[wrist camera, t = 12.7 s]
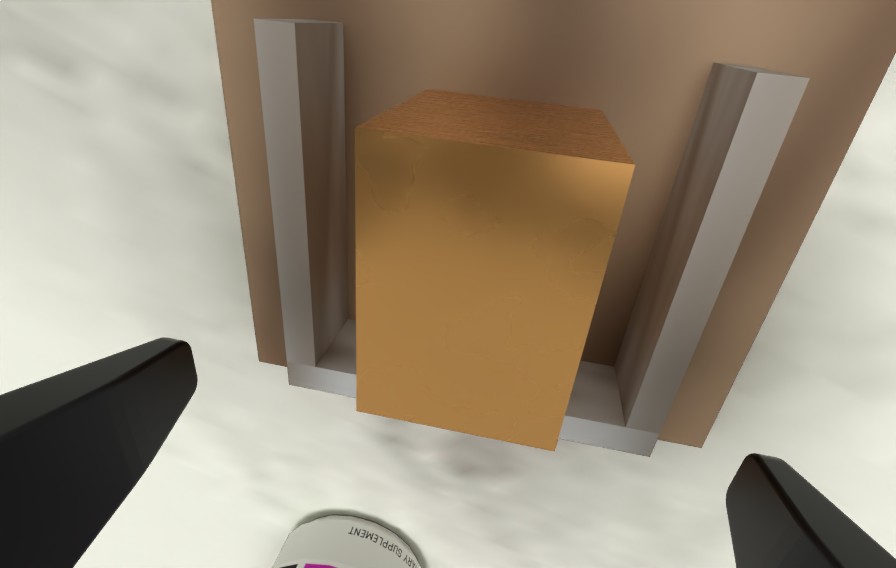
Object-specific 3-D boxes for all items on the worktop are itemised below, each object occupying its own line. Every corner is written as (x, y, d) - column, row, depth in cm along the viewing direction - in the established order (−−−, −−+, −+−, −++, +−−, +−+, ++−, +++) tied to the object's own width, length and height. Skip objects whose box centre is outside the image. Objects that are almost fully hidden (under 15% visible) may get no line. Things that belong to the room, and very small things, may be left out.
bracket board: (270, 347, 21) (216, 410, 18) (177, -464, 10) (-6, -703, 7) (694, 428, 19) (726, 518, 16) (1121, -482, 8) (1523, -836, 5)
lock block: (413, 295, 17) (356, 410, 12) (427, 89, 14) (354, 127, 9) (552, 319, 17) (554, 451, 12) (602, 110, 13) (635, 164, 8)
